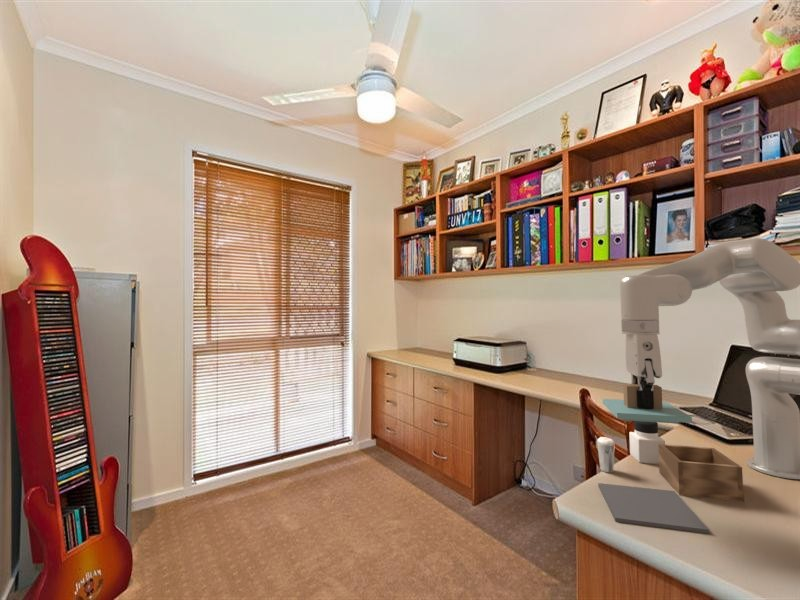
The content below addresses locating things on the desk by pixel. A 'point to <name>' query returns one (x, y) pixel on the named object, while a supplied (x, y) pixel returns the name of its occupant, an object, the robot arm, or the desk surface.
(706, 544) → the desk surface
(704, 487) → the storage box
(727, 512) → the desk surface
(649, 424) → the medicine bottle
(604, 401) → the lid
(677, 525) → the desk mat
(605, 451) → the milkshake
